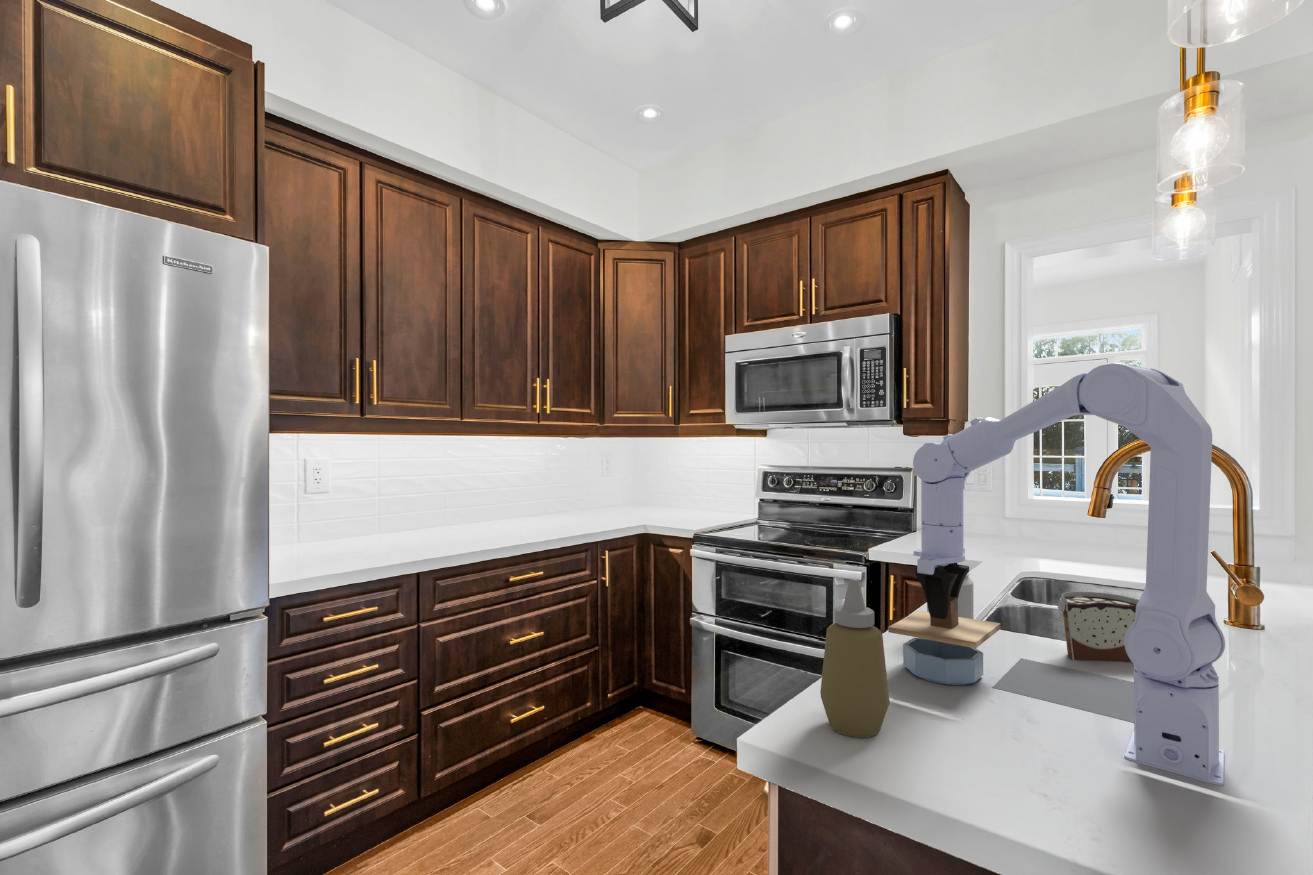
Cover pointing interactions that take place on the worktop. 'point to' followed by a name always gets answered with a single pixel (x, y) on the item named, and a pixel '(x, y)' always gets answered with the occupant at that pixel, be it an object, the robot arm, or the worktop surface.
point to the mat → (1071, 688)
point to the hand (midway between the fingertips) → (942, 615)
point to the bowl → (943, 661)
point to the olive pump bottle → (854, 669)
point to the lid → (946, 627)
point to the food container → (1097, 625)
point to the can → (965, 599)
